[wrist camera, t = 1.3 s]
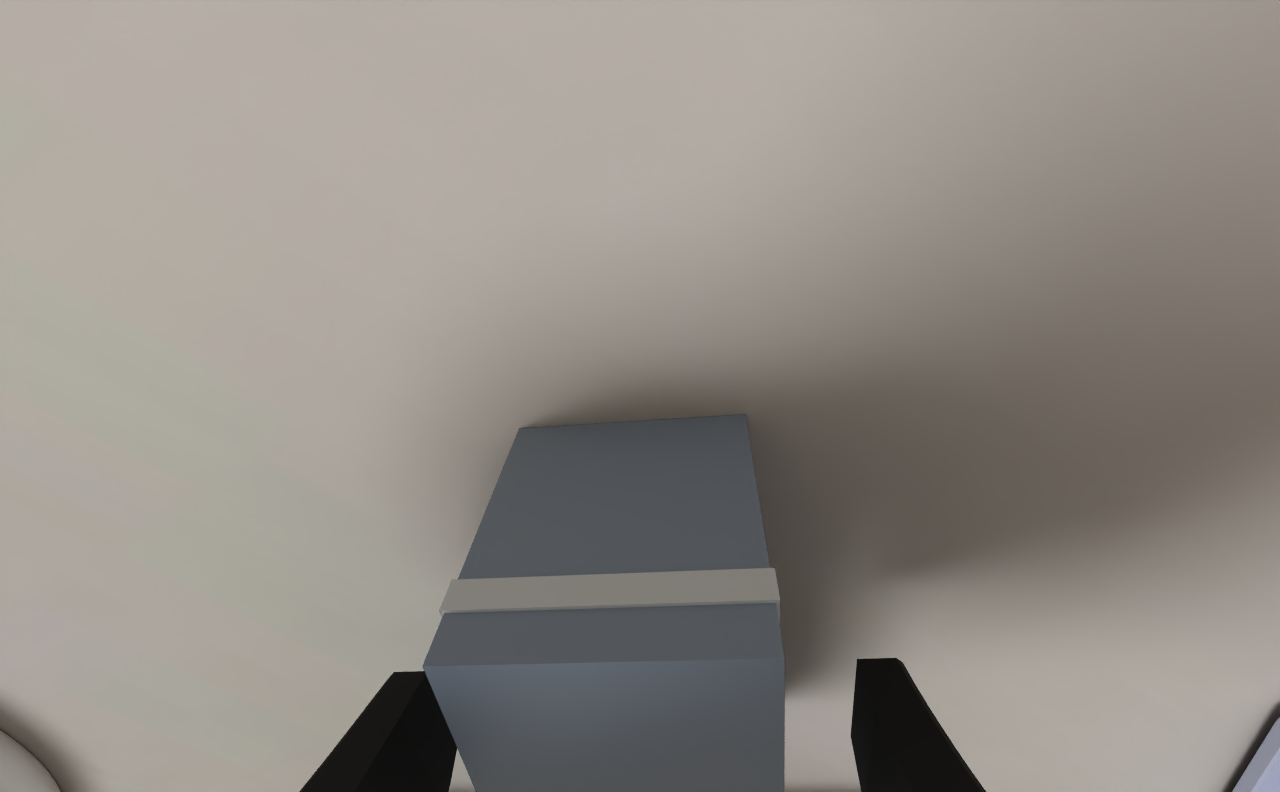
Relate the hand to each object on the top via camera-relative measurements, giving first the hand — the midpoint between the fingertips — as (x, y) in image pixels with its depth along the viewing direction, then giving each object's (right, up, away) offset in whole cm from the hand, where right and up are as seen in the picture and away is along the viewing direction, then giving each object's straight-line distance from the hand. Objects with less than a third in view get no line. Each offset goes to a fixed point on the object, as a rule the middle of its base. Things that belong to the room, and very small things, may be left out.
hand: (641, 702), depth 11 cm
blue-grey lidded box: (0, +1, +2) cm, 3 cm away
